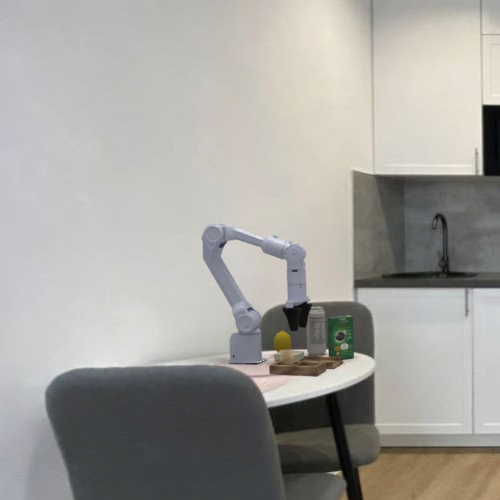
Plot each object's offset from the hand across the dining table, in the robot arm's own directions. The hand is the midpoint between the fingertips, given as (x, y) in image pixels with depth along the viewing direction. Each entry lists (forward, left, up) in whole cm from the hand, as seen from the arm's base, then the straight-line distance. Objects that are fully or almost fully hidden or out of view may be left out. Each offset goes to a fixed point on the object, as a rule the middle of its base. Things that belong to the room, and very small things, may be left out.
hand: (298, 329), depth 218 cm
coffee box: (+11, +7, -10) cm, 16 cm away
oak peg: (+2, -15, -10) cm, 18 cm away
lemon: (-9, +9, -10) cm, 16 cm away
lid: (-2, -4, -9) cm, 10 cm away
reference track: (+4, -4, -10) cm, 11 cm away
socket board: (+5, -15, -10) cm, 19 cm away
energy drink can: (+1, +13, -10) cm, 16 cm away
